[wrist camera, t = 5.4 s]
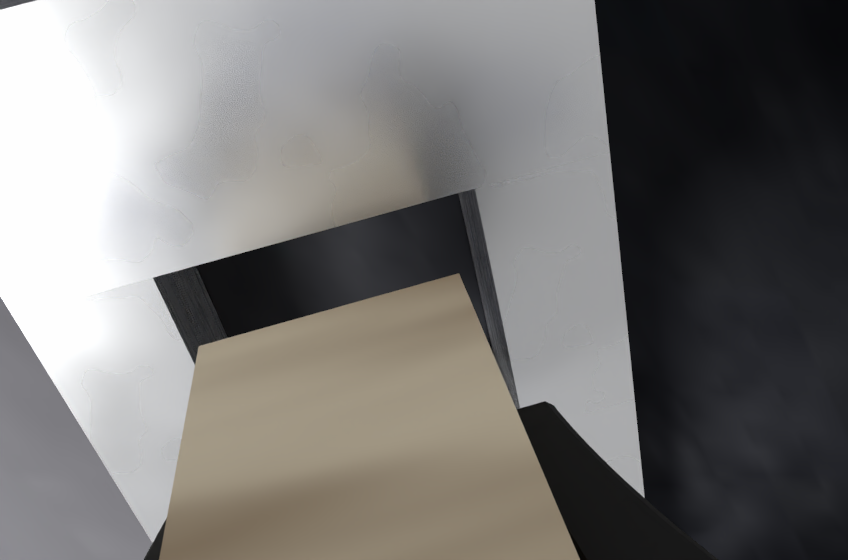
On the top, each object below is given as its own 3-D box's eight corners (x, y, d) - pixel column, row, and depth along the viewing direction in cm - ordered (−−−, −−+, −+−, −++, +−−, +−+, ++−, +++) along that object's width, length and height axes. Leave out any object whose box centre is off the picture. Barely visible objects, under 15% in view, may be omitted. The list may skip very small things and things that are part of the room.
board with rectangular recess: (621, 563, 21) (659, 643, 19) (283, 663, 21) (282, 754, 19) (527, -142, 12) (580, -145, 10) (-71, 17, 12) (-151, 50, 10)
